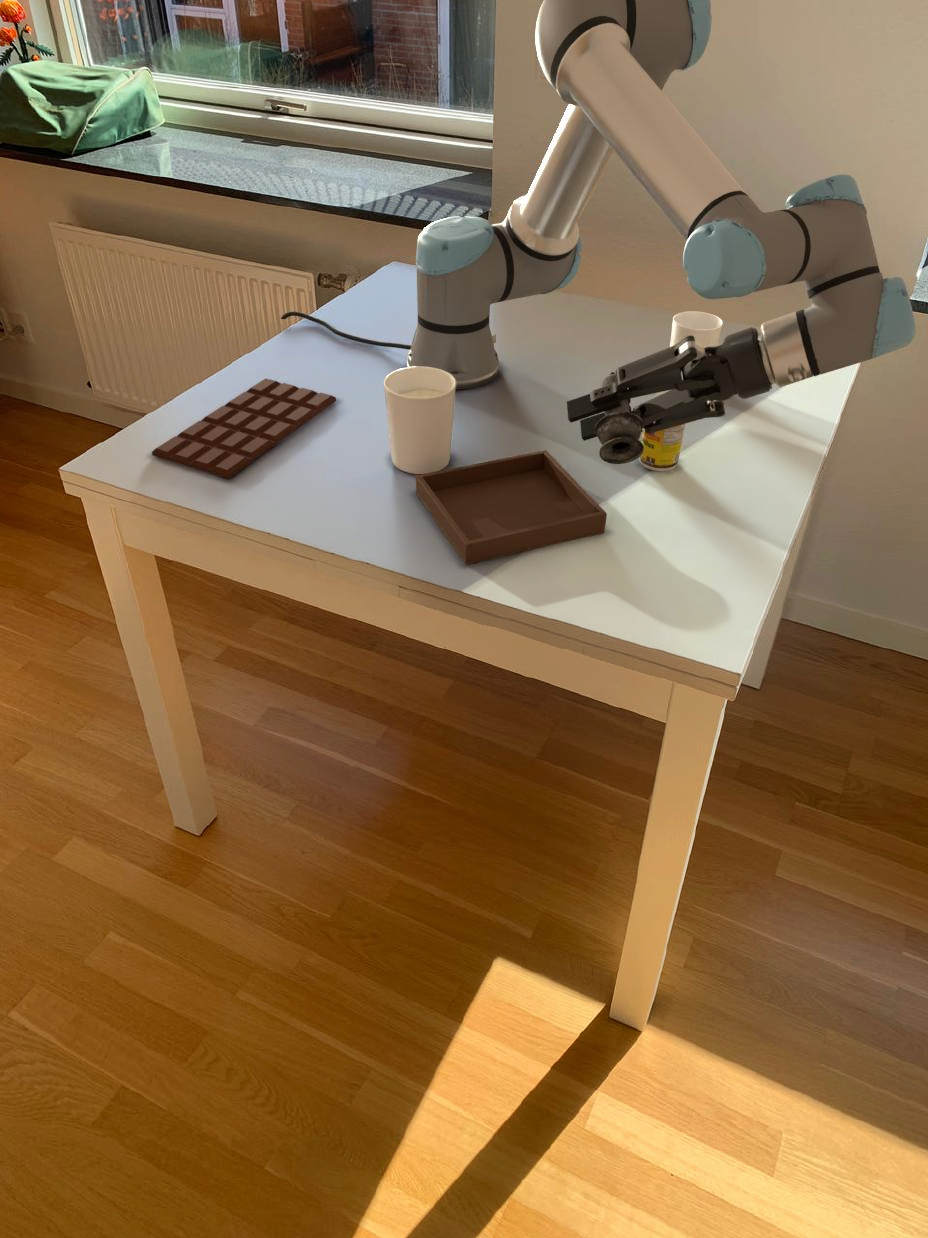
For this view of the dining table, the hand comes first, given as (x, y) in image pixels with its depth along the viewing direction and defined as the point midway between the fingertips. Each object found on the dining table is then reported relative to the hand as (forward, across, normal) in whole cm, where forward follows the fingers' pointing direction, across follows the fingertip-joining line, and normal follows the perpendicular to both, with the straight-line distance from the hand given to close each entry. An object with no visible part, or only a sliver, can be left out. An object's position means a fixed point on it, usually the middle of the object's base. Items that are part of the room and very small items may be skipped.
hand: (575, 421), depth 120 cm
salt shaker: (-5, 0, -7) cm, 9 cm away
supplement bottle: (-4, +22, +6) cm, 23 cm away
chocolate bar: (+50, -4, +15) cm, 52 cm away
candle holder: (+26, +6, +6) cm, 27 cm away
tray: (+13, +6, -6) cm, 15 cm away
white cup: (-7, +38, +31) cm, 49 cm away
